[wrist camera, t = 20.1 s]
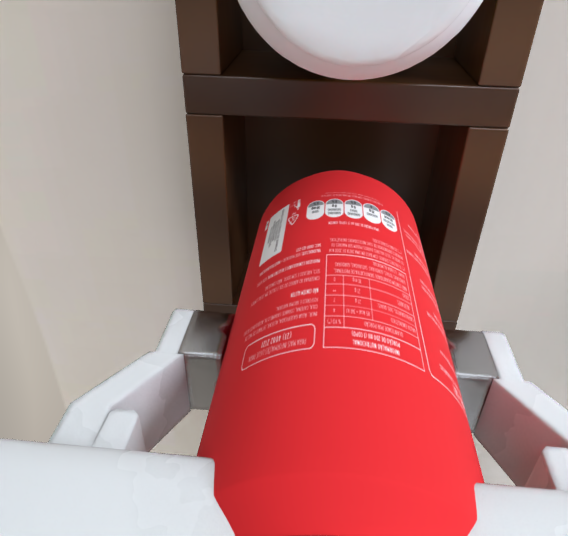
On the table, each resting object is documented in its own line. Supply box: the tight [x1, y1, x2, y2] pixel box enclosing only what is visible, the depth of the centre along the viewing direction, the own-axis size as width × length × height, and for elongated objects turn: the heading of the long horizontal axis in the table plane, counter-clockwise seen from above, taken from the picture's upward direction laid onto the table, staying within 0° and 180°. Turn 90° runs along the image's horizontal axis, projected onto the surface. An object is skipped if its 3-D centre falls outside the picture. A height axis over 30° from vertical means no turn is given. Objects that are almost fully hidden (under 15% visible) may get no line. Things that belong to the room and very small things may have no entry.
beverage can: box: [197, 169, 484, 536], centre depth 12 cm, size 5×5×12 cm
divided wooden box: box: [175, 0, 544, 330], centre depth 17 cm, size 19×10×6 cm, turn 179°
